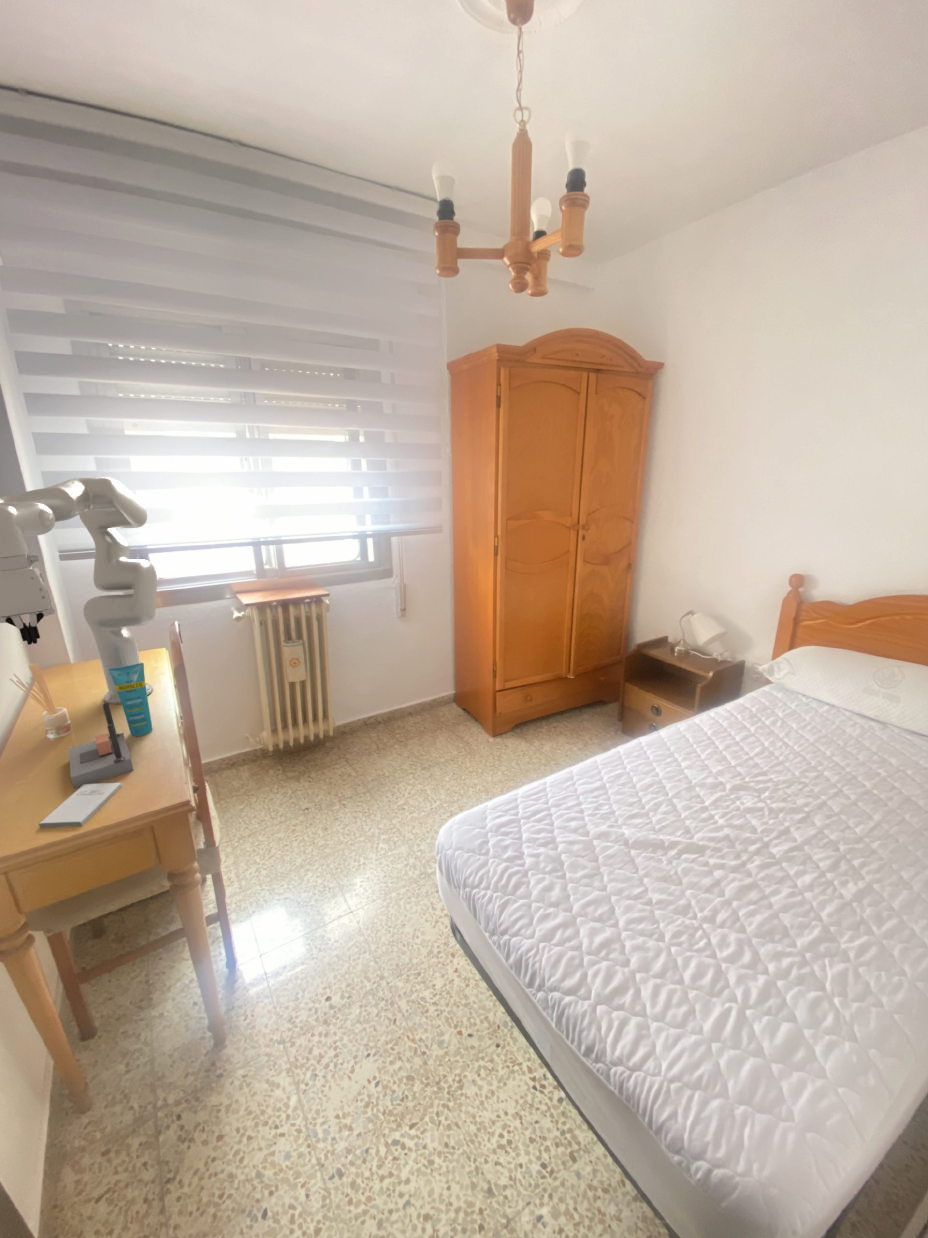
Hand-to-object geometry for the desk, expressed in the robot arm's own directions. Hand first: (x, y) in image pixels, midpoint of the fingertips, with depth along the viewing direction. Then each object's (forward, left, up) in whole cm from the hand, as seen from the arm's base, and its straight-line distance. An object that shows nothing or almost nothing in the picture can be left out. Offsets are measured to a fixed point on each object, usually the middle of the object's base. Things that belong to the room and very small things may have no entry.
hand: (32, 642), depth 113 cm
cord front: (+19, +10, -26) cm, 34 cm away
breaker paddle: (+12, +8, -26) cm, 29 cm away
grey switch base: (+12, +7, -29) cm, 32 cm away
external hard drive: (+28, +2, -30) cm, 41 cm away
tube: (+1, +16, -29) cm, 33 cm away
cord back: (+5, +10, -26) cm, 28 cm away
